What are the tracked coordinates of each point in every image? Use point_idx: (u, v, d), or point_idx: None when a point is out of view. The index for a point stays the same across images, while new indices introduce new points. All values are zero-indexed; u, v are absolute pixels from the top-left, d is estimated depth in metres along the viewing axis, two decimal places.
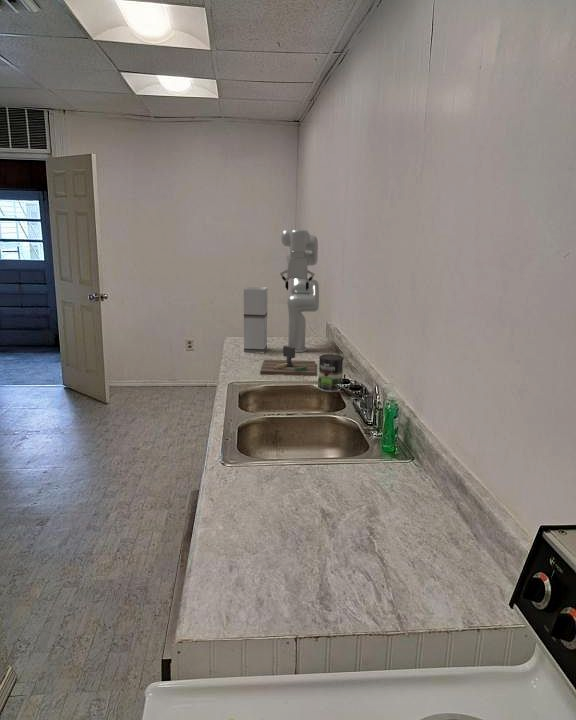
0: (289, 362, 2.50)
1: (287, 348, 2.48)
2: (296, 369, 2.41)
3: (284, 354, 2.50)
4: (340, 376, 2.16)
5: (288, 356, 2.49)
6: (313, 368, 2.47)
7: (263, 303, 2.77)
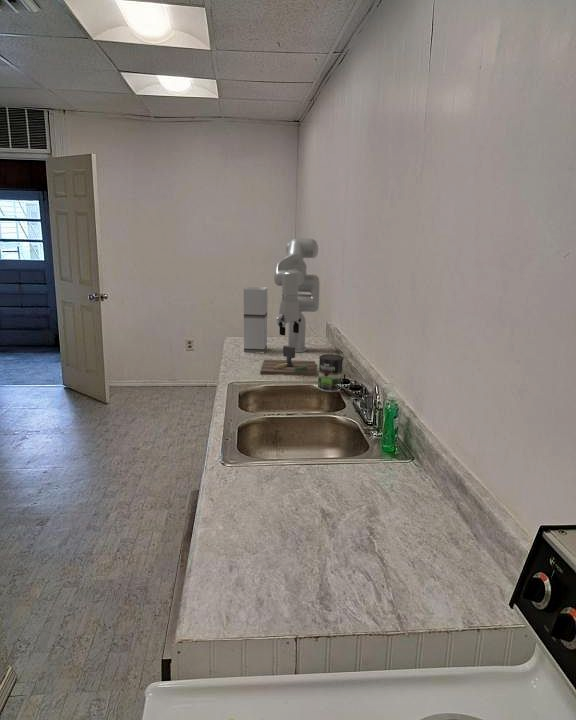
0: (289, 362, 2.50)
1: (287, 348, 2.48)
2: (296, 369, 2.41)
3: (284, 354, 2.50)
4: (340, 376, 2.16)
5: (288, 356, 2.49)
6: (313, 368, 2.47)
7: (263, 303, 2.77)
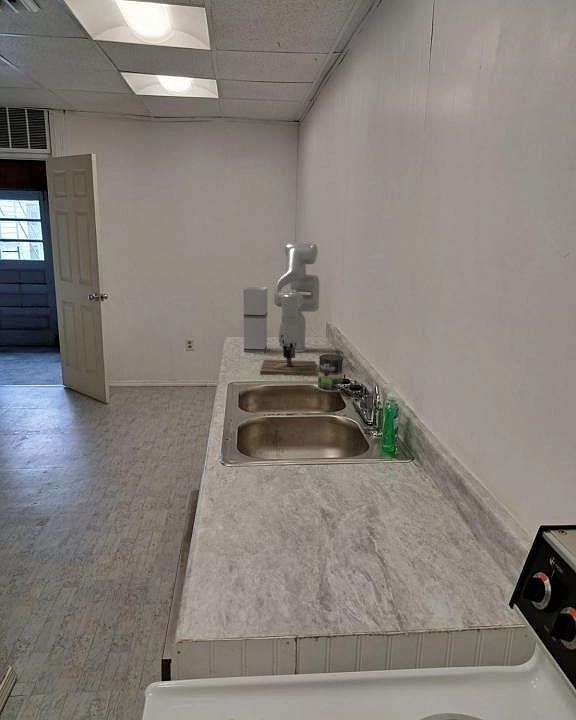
0: (289, 362, 2.50)
1: None
2: (296, 369, 2.41)
3: None
4: (340, 376, 2.16)
5: None
6: (313, 368, 2.47)
7: (263, 303, 2.77)
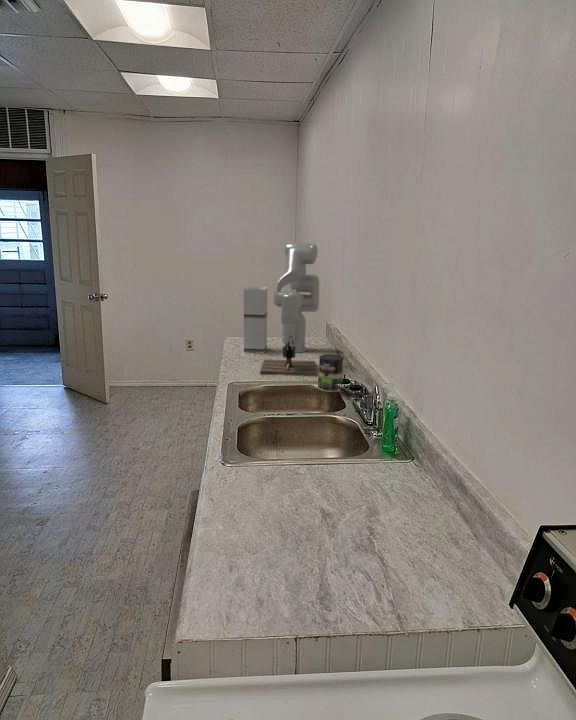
0: (290, 362, 2.50)
1: None
2: (296, 369, 2.41)
3: (284, 355, 2.49)
4: (340, 376, 2.16)
5: None
6: (313, 368, 2.47)
7: (263, 303, 2.77)
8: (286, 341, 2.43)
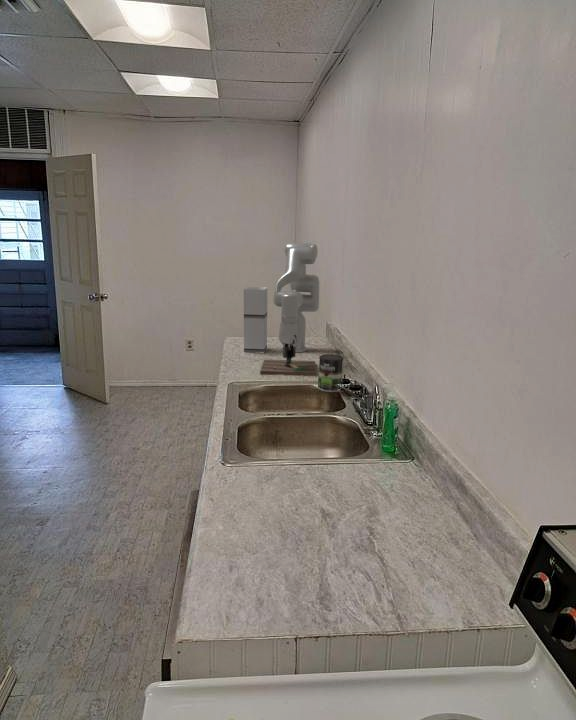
0: None
1: None
2: (296, 369, 2.41)
3: (286, 355, 2.48)
4: (340, 376, 2.16)
5: None
6: (313, 368, 2.47)
7: (263, 303, 2.77)
8: (291, 341, 2.43)
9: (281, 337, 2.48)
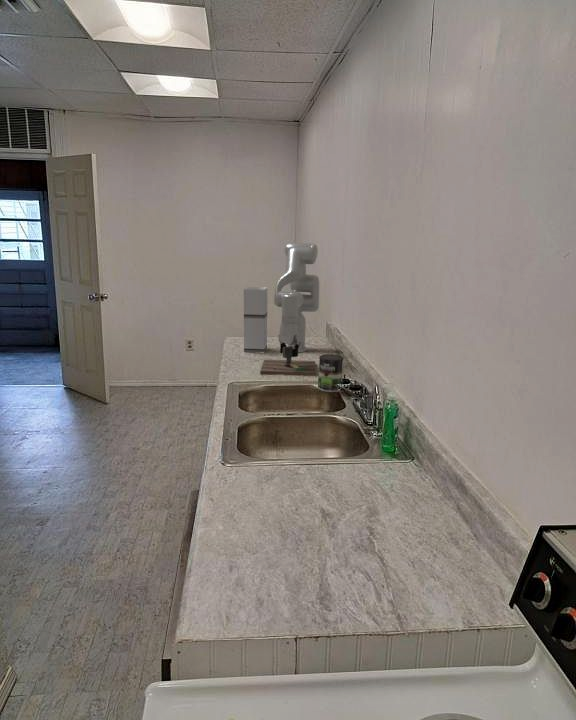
0: None
1: (289, 348, 2.48)
2: (296, 369, 2.41)
3: (286, 355, 2.48)
4: (340, 376, 2.16)
5: (291, 356, 2.49)
6: (313, 368, 2.47)
7: (263, 303, 2.77)
8: (292, 341, 2.43)
9: (281, 337, 2.48)
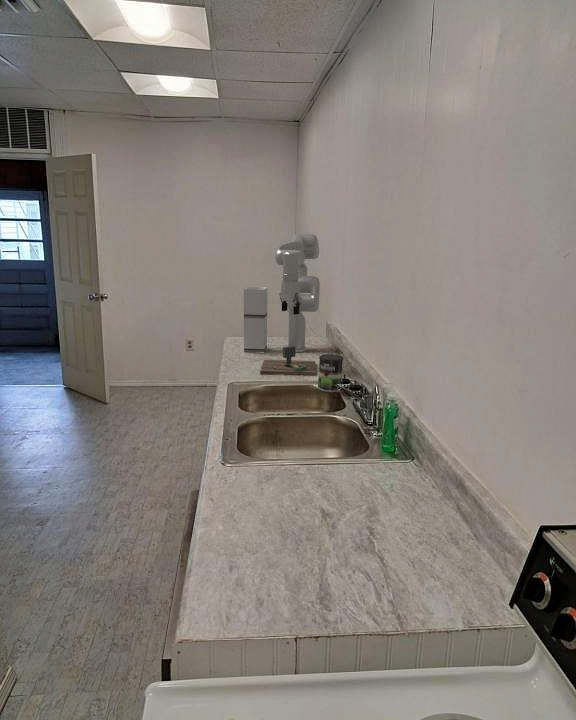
0: None
1: (289, 348, 2.48)
2: (296, 369, 2.41)
3: (286, 355, 2.48)
4: (340, 376, 2.16)
5: (291, 356, 2.49)
6: (313, 368, 2.47)
7: (263, 303, 2.77)
8: (293, 299, 2.45)
9: (283, 295, 2.50)
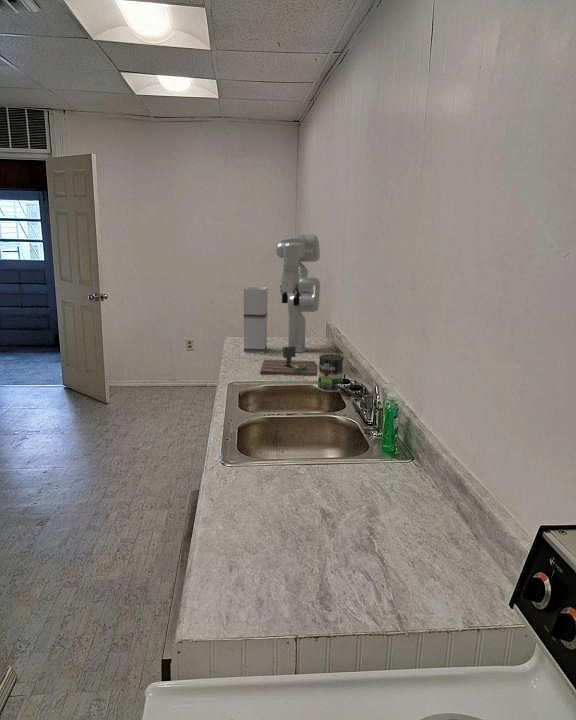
0: None
1: (289, 348, 2.48)
2: (296, 369, 2.41)
3: (286, 355, 2.48)
4: (340, 376, 2.16)
5: (291, 356, 2.49)
6: (313, 368, 2.47)
7: (263, 303, 2.77)
8: (293, 289, 2.48)
9: (283, 287, 2.53)
